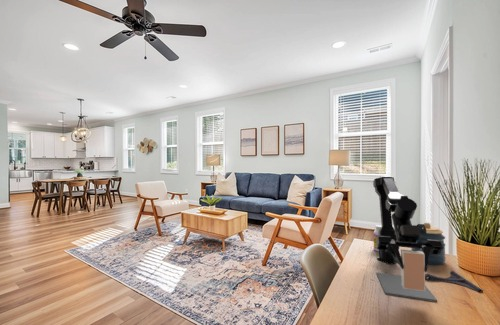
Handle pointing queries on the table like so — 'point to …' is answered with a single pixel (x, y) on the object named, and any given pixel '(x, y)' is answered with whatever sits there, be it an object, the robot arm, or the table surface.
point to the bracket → (454, 280)
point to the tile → (413, 270)
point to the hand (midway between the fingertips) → (414, 269)
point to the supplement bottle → (376, 236)
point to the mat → (394, 287)
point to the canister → (433, 234)
